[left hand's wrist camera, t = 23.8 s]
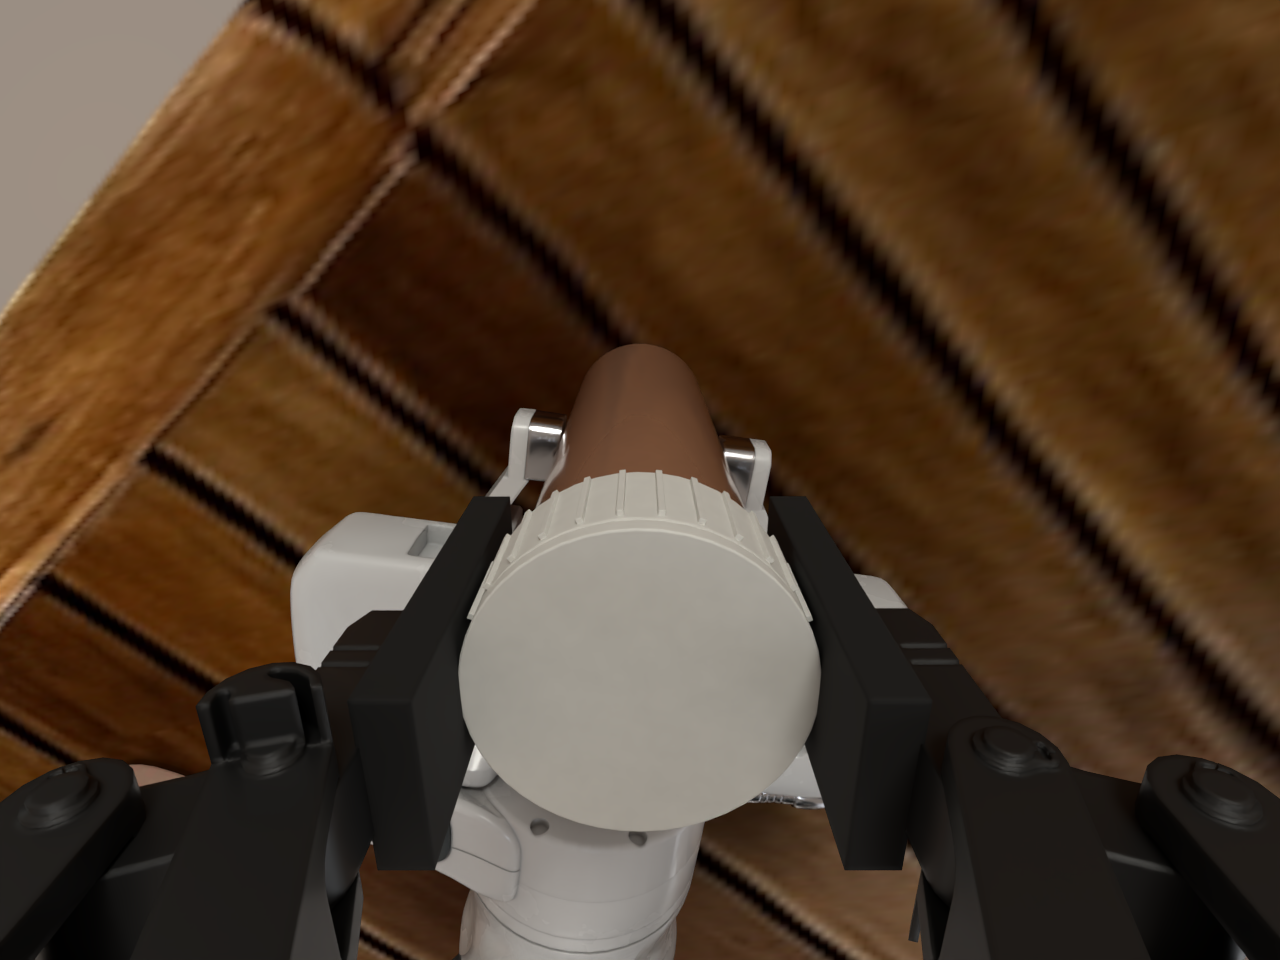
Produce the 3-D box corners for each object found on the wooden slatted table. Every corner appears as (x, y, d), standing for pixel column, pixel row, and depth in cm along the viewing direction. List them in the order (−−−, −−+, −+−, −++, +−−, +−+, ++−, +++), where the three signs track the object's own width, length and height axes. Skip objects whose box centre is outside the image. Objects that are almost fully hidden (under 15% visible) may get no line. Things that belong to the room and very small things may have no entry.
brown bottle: (569, 451, 28) (473, 753, 12) (589, 332, 26) (508, 494, 10) (686, 473, 28) (748, 795, 12) (714, 356, 26) (826, 551, 10)
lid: (491, 448, 11) (455, 502, 9) (822, 484, 12) (866, 546, 9) (480, 720, 13) (447, 820, 11) (763, 746, 14) (788, 849, 11)
